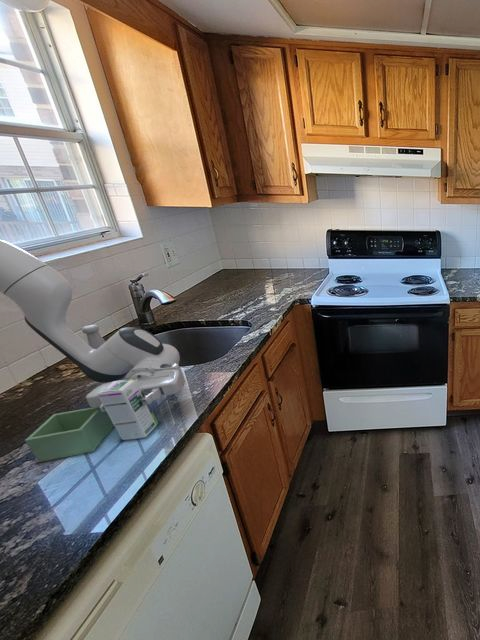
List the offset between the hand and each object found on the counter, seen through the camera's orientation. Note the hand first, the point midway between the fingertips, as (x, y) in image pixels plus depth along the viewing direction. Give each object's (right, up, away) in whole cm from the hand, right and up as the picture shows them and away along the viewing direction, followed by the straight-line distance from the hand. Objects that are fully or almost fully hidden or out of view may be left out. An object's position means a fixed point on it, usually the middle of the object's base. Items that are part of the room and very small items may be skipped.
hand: (124, 405), depth 91 cm
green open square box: (-13, -10, +1) cm, 16 cm away
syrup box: (0, -8, +5) cm, 9 cm away
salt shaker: (-48, +9, +45) cm, 67 cm away
